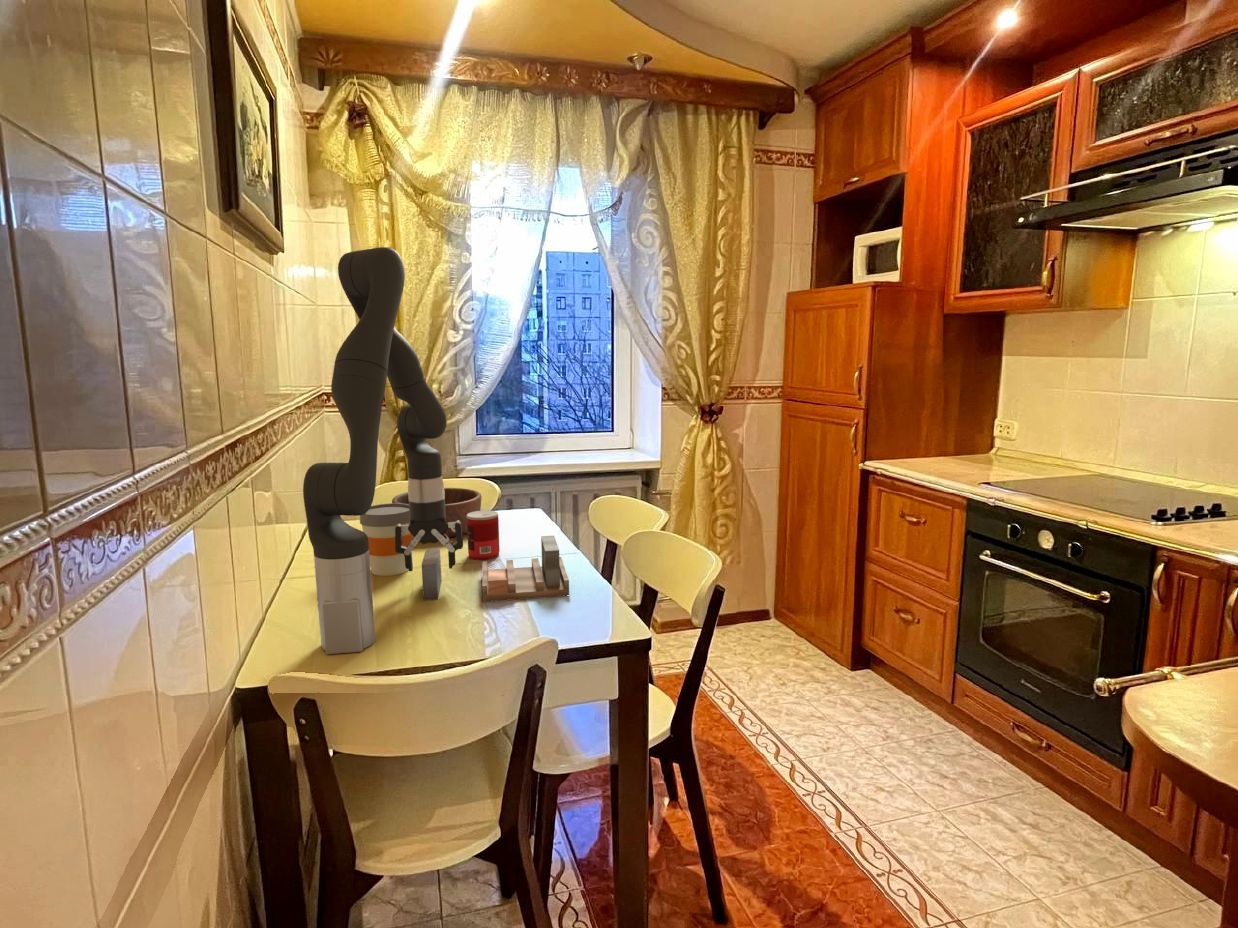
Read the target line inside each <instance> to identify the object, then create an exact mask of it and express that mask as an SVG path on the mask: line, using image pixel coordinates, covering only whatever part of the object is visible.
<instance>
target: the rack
mask: <svg viewBox="0 0 1238 928" xmlns="http://www.w3.org/2000/svg"><path fill="white" fill-rule="evenodd" d="M540 537H541V538H540V539H541V541H540V542H541V548H540V549H541V566H540V560H539V558H531V566H525V567H514V559H506V561H505V562H506V566H505V567H506V568H492V569H488V561H482V577H481V578H482V579H481V584H482V586H481V587H482V588H481V589H482V590H481V591H482V603H487V602H500V601H501V602H502V601H514V600H527V599H529V600H530V599H543V598H544V597H545V598H555V597H557V598H558V596H559V597H568V596H567V595H569V596H570V579H569V576H568V573H567V571H566V568H565V565H564V561H563V559H562V557H561V556H560V549H559V546H558V542H557V539H556V537H555V535H541V536H540Z"/></svg>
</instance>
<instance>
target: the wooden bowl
mask: <svg viewBox="0 0 1238 928" xmlns="http://www.w3.org/2000/svg"><path fill="white" fill-rule="evenodd" d="M444 491H445V495H444V496H445V513H446V520H447V522H448V523H449V522H455V521H456V520H459V521H460V522H461V529H462V536H463V535H467V514H468V513H471V512H475V511H481V509H482V508H481V507H482V494H481V493H480V492H479V491H477V490H474V489H469V488H463V487H462V488H461V487H444ZM391 503H402V504H409V497H408V491H407V492H402V493H400V494H397V495H395V496H393V498H392V500H391ZM445 534H446V535H447V537H448V538H449V539H450V538H456V532H453V531H452V529H451V528H448V529H447V531H446V532H445ZM443 537H444V536H443Z"/></svg>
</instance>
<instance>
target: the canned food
mask: <svg viewBox="0 0 1238 928" xmlns="http://www.w3.org/2000/svg"><path fill="white" fill-rule="evenodd" d="M499 525H500V524H499V513H498V512H497V511H495V510H485V509H484V510H480V511H475V512H471V513H468V514H467V533H466V535H467V553H468V556H469V558H470V559H471V560H476V561H487V560H491V559H494V558H497V557H498V556H499V554H500V551H501V550H500V526H499Z"/></svg>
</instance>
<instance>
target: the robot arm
mask: <svg viewBox="0 0 1238 928" xmlns="http://www.w3.org/2000/svg"><path fill="white" fill-rule="evenodd" d="M337 265H338V266H337V275H338V280H339V282H340V285H341V287H342V290H343V292H344V294H345V296H346V298H347V299H348V301H349V303H350V305H351V307H352V308H353V311H354V313H355V314H356V316H357V317H358V322H357V323H356V325H355V326H354V328H353V329H352V330H351V331H350V333H349V334H348V336H347V337H346V338H345V340H344V342H343V343H341V346H340V348H339V350H337V353H336V356H335V359H334V366H333V372H332V378H331V385H330V387H331V390H330V391H331V396H332V399H333V401H334V403H335V406H336V408H337V409H338V412H339V413H340V416H341V419H343V421H344V424H345V426H346V429H347V431H348V434H349V439H350V446H349V448H350V451H349V452H350V453H349V459H348V462H317V463H314V464H312V465H311V466H310V467H308V469H307V470H306V472H305V475H304V479H303V484H302V485H303V486H302V494H303V495H302V497H303V503H304V504H303V505H304V510H305V516H306V523H307V533H308V539H309V542H310V544H311V546H312V549H313V561H314V572H315V574H314V575H315V584H316V585H315V586H316V596H317V598H316V599H317V609H318V620H319V621H318V622H319V631H320V643H321V649H322V650H323V651H325V655H334V654H347V653H358V652H359V653H360V652H363V651H364V649H366V648H368V647H370V646H371V645H373V644H374V643H375V641H376V628H375V627H376V626H375V615H374V602H373V601H374V599H373V598H374V597H373V588H372V587H373V586H372V572H371V567H370V554H369V541H368V536H367V535H366V534H365V533H364V532H363V530H361V529H358V528H356V527H354V526H352V525H350V524H349V523H347V522H346V521H345V520H344V519H343V518H342V516H347V517H351V516H352V517H353V516H355V517H356V516H358V517H360V515H363V514H365V513H366V512H367V511H368V510H369V509H370V507H371V506H373V505H372V504H373V501H374V498H375V497H374V496H375V492H376V485H377V470H378V469H377V467H378V466H377V465H378V444H379V443H378V442H379V433H380V424H381V416H382V409H383V404H384V403H383V402H384V397H385V392H386V385H387V379H388V382H389V384H390V387H391V390H392V392H393V394H394V396H395V397H396V398H397V399H399V400H401V401H404V402H405V403H407V404H406V405H404V406H402V408H400V411H399V413H398V415H397V418H396V420H397V421H396V426H397V432H398V435H399V438H400V441H401V445H402V448H403V451H404V453H405V455H406V456H405V457H406V459H407V477H408V481H407V492H408V497H409V512H410V524H409V525H402V524H400V523H398V524H397V525H396V528H395V551H396V553H402V554H404V556H405V567H406V569H409V570H408V572H413V568H414V565H413V564H414V563H413V553H412V551H413V549H415V548H416V546H417V544H418V543H420V544H421V545H424V544H428V543H430V544H437V543H438V542H439V543H440V544H441V545H442V546H444V547H445V548H446V549H447V550H448V551H447V553H448V554H447V555H448V557H447V559H448V569H453V567H454V566H456V562H457V561H456V551H458V550H461V549H464V548H463V547H464V538H463V535H462V529H461V522H460V521H459V520H456V521H455V522H449V523H448V522H447V520H446V513H445V496H444V495H445V491H444V488H445V484H444V479H443V471H442V469H443V468H442V466H443V465H442V454H441V453H440V451H439V450H437V448H436V449H435V448H434V447H432V446H430V444H429V442H428V440H427V439H432V440H433V439H438V438H440V437H441V436H443V434H444V433H445V431H446V429H447V416H446V412H445V410H444V407H443V406H442V403H441V402H440V400H439V398H437V396H436V394H435V392H434V391H433V390H432V388H431V387H430V385H429V384H428V382H427V380H426V375H425V374H424V371H423V368H422V364H421V362H420V359H419V357H418V354H417V353H416V351H415V349H414V348H413V347H412V345H411V344H410V343H409V342H408V340H407V339H406V338H405V337H404V336H403V335H402V334H401V333H400V332H399V331H398V330H397V329H396V328H395V324H396V320H397V316H398V312H399V308H400V304H401V301H402V298H403V292H404V287H405V281H406V280H405V279H406V278H405V277H406V274H405V273H406V271H405V265H404V262H403V259H402V257H401V255H400V254H399V252H398V251H397V250H396V249H394V248H392V247H388V246H379V247H373V248H367V249H360V250H355V251H354V250H353V251H350V252H346V253H343V255H341V257H340V259H339V261H338V264H337ZM448 528H451V529H452V531H453V532H456V536H455V539H456V542H455V543H453V542H452V540H451V539H450V538H448V537H447V535H446V534H445V532H446V531H447V529H448ZM407 530H409V532H410V533H411V534H412V535H413V536H414V537H413V538H412V539H411V541H410V543H409V544H408V545H407V547H405V546H402V535H404V534H405V532H406V531H407ZM443 536H444V537H443Z"/></svg>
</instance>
